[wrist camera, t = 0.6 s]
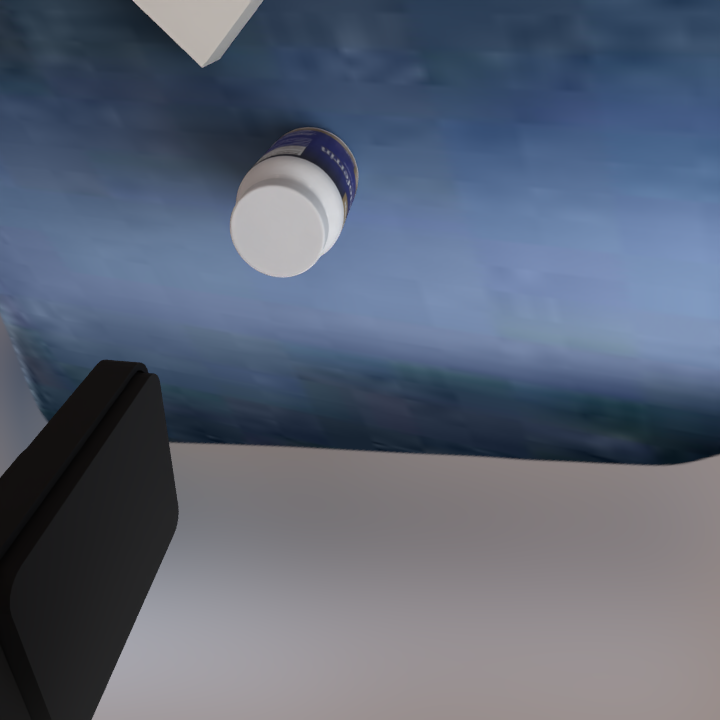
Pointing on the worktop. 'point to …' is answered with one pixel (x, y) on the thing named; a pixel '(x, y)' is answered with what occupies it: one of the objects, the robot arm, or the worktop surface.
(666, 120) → the worktop surface
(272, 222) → the pill bottle
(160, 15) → the socket block
